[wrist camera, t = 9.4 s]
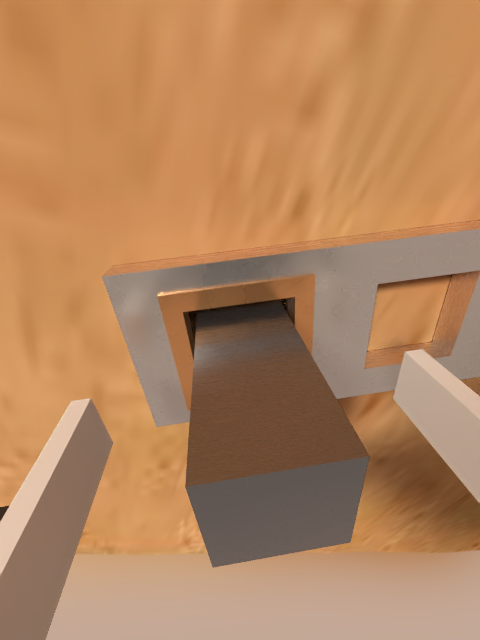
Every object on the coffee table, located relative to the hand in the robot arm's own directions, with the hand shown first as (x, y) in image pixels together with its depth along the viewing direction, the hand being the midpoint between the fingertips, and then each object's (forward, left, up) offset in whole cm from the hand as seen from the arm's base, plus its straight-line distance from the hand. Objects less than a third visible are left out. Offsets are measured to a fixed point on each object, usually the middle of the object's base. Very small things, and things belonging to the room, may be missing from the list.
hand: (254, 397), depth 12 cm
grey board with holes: (0, +10, -5) cm, 11 cm away
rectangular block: (0, 0, -5) cm, 5 cm away
